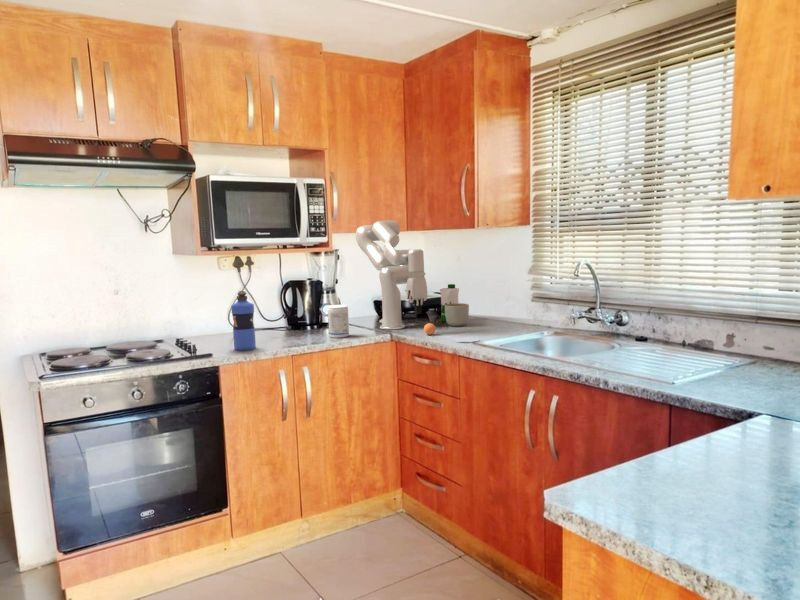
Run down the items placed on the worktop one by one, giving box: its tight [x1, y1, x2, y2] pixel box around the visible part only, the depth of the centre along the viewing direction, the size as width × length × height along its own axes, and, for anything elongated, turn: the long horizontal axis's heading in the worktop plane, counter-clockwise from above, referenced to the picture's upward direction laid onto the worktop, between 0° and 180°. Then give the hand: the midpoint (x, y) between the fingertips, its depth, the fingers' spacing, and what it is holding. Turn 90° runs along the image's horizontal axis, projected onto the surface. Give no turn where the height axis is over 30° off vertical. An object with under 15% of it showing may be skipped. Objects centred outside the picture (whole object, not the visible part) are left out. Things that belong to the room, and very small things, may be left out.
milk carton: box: [439, 283, 460, 322], centre depth 308 cm, size 9×9×20 cm
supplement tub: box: [327, 304, 350, 339], centre depth 269 cm, size 10×10×15 cm
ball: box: [423, 322, 437, 336], centre depth 267 cm, size 6×6×6 cm
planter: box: [445, 302, 470, 327], centre depth 293 cm, size 12×12×11 cm
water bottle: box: [230, 290, 257, 352], centre depth 244 cm, size 9×9×25 cm
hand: (418, 313), depth 272 cm, fingers closed
